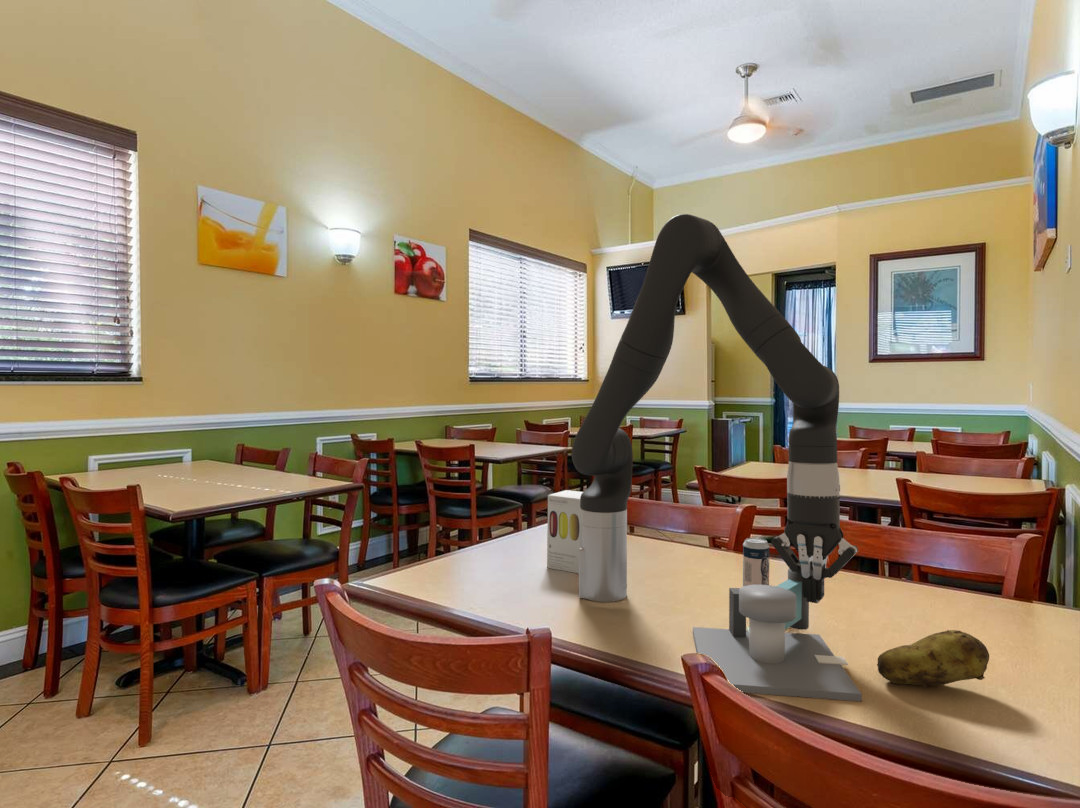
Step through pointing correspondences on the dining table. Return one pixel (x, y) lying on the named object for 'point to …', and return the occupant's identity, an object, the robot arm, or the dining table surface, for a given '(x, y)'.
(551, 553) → the supplement box
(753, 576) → the beer can
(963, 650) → the potato
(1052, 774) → the dining table surface
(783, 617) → the lever
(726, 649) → the post base
